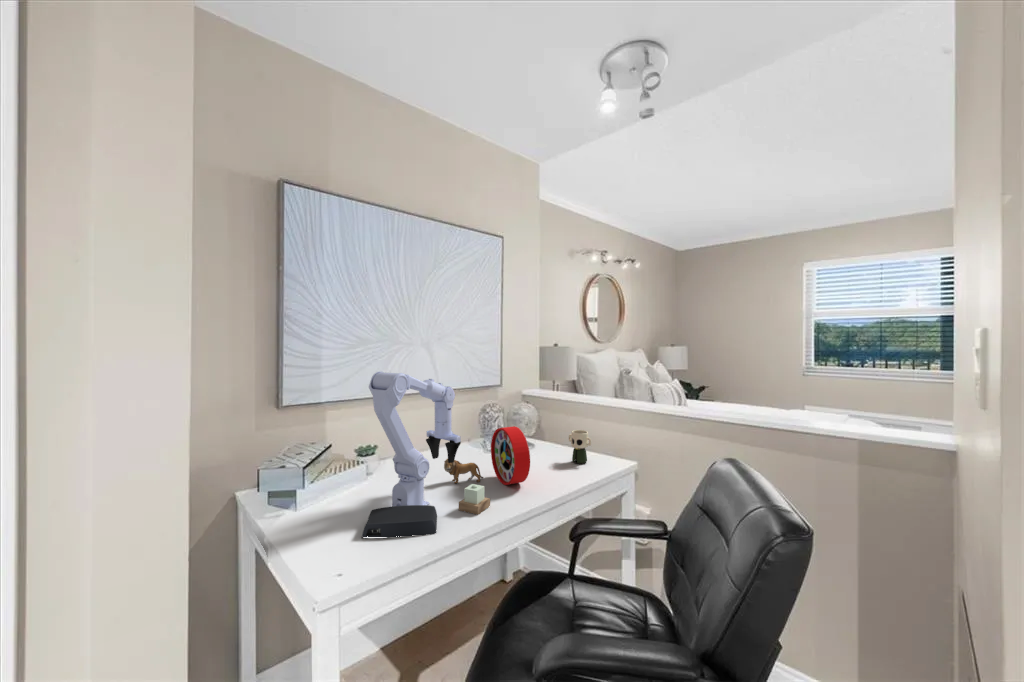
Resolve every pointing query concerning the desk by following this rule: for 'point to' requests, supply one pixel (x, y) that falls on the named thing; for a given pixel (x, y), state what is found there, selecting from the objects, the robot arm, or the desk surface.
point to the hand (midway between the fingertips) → (443, 460)
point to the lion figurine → (461, 469)
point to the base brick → (474, 506)
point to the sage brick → (474, 494)
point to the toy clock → (510, 455)
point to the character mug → (579, 445)
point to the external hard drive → (401, 521)
